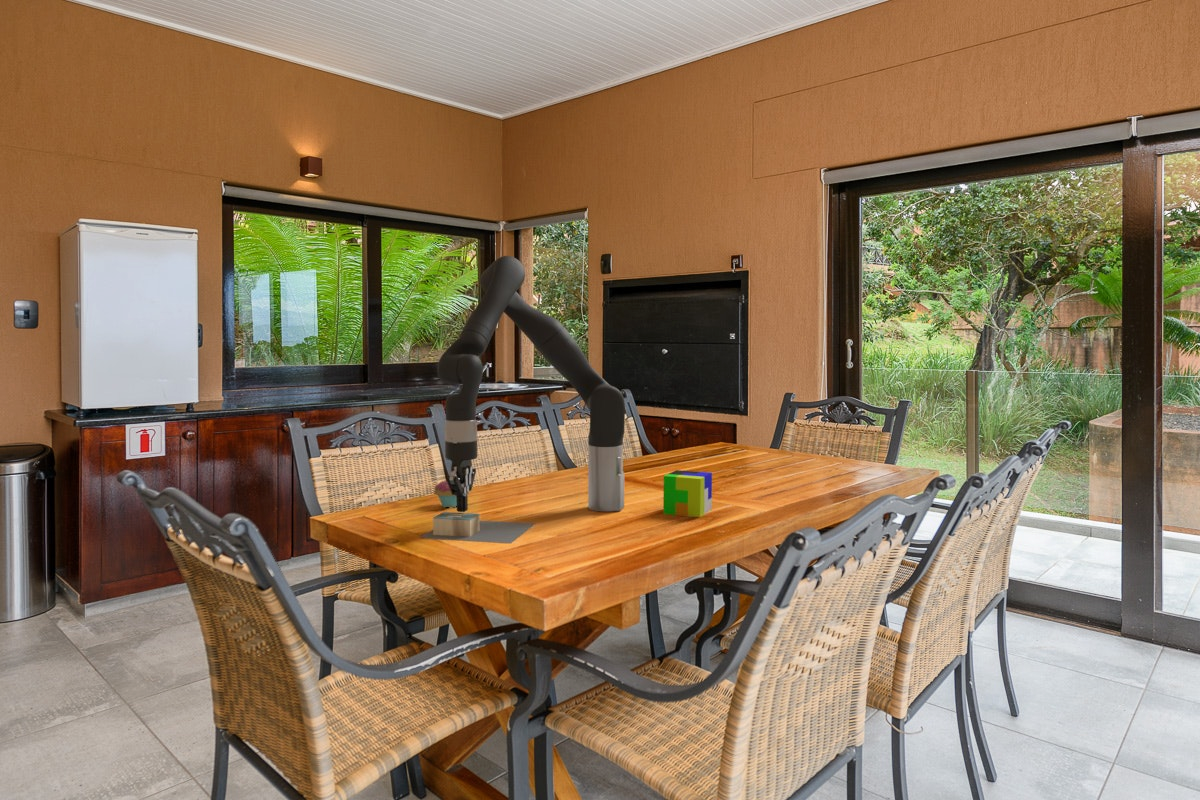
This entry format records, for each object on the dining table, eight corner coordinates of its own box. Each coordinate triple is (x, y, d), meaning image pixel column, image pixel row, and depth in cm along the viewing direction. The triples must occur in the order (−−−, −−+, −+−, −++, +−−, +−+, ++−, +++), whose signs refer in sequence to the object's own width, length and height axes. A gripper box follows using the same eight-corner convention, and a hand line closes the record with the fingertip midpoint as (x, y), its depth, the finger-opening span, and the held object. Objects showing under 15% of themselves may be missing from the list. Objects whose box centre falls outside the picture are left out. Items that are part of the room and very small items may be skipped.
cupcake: (472, 504, 212) (471, 461, 211) (456, 510, 204) (456, 465, 203) (444, 502, 215) (444, 459, 214) (428, 508, 207) (427, 464, 206)
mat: (535, 524, 188) (535, 523, 188) (510, 544, 169) (510, 543, 169) (451, 520, 193) (451, 519, 193) (418, 539, 174) (418, 537, 174)
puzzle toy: (711, 509, 205) (711, 472, 204) (700, 517, 196) (700, 478, 195) (676, 506, 209) (676, 470, 208) (663, 513, 200) (663, 475, 199)
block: (469, 518, 175) (433, 516, 177) (470, 536, 175) (433, 534, 177) (479, 513, 181) (443, 511, 183) (479, 530, 181) (443, 528, 183)
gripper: (457, 435, 188) (458, 504, 189) (434, 441, 175) (435, 516, 176) (486, 435, 186) (487, 506, 188) (465, 442, 174) (466, 518, 175)
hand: (462, 511), depth 182 cm, fingers closed
